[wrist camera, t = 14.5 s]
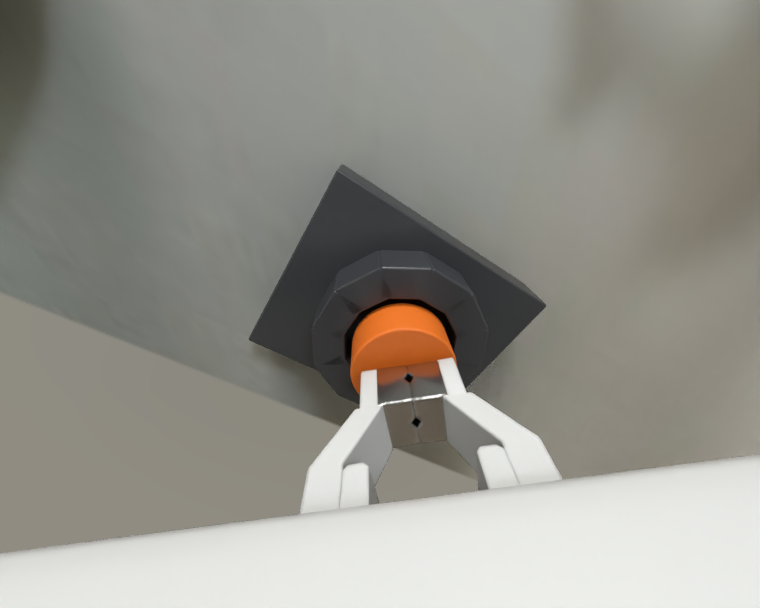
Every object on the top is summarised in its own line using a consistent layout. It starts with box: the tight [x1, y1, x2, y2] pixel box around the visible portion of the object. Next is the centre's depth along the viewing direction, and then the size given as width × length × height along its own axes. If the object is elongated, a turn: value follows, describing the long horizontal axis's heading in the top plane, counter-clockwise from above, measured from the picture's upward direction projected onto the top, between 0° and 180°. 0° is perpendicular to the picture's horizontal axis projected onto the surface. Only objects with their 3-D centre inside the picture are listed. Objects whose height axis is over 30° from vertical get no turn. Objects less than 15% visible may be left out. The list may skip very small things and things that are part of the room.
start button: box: [350, 303, 457, 395], centre depth 11 cm, size 4×4×2 cm
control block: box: [249, 165, 546, 404], centre depth 14 cm, size 10×8×4 cm
